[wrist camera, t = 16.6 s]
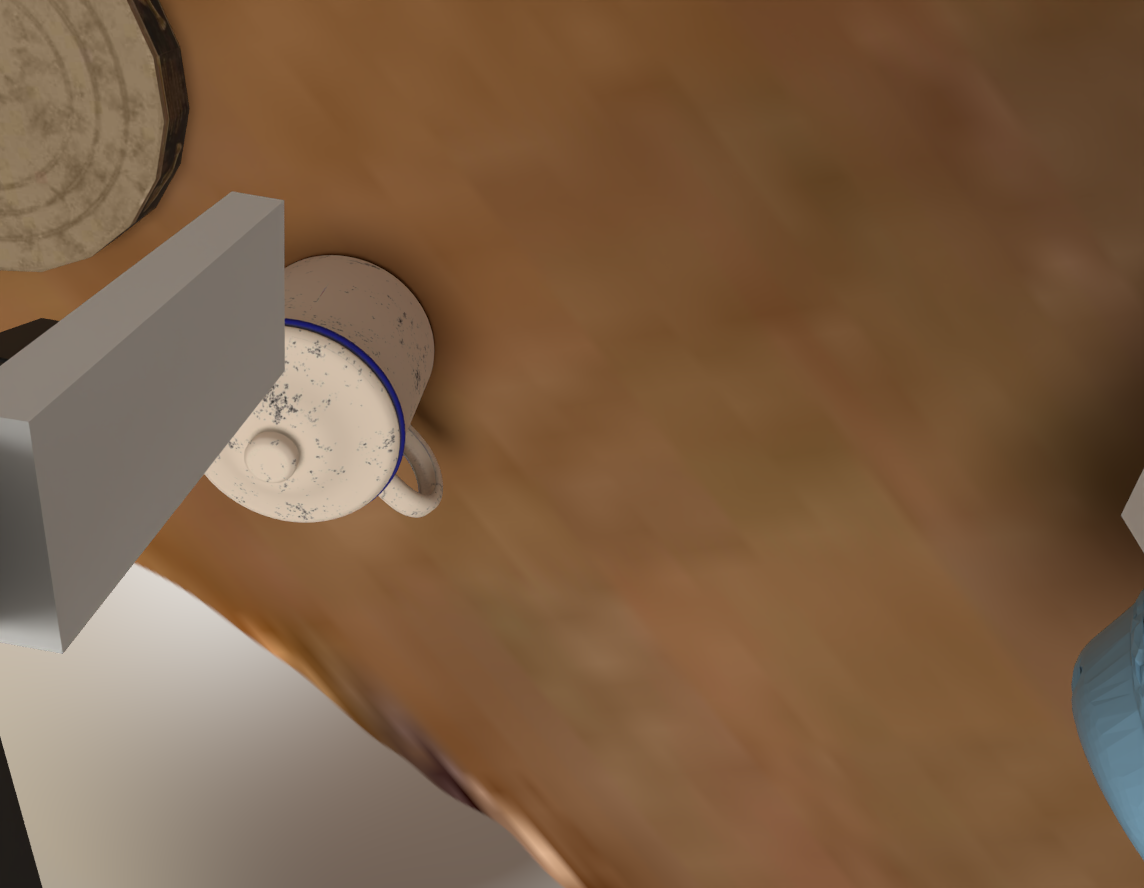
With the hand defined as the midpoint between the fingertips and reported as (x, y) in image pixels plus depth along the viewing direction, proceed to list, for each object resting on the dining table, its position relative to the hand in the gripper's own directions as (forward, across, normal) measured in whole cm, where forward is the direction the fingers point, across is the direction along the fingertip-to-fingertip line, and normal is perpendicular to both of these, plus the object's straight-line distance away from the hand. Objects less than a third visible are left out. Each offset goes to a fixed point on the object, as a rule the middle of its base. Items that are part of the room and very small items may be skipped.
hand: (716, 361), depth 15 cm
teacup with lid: (+30, +13, +17) cm, 37 cm away
